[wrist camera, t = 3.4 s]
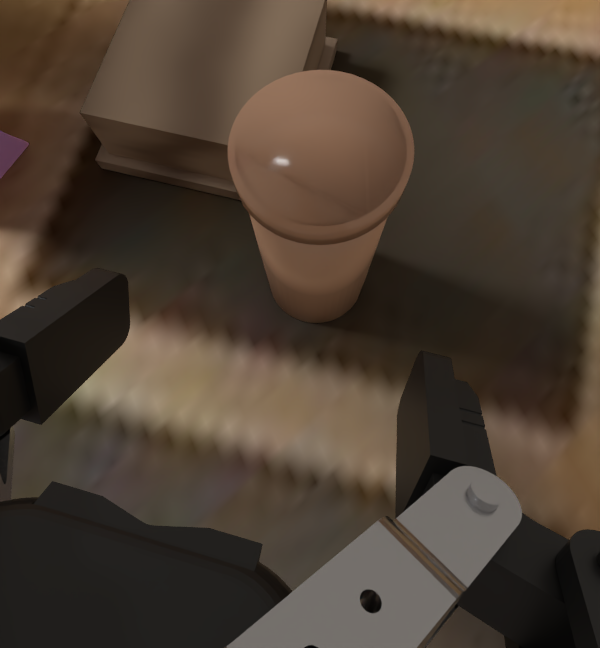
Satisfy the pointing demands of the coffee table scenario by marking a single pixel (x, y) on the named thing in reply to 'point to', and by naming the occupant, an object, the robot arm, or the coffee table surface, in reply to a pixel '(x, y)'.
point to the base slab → (195, 82)
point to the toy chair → (10, 151)
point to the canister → (319, 184)
